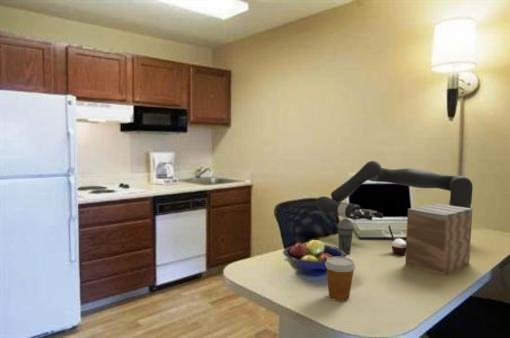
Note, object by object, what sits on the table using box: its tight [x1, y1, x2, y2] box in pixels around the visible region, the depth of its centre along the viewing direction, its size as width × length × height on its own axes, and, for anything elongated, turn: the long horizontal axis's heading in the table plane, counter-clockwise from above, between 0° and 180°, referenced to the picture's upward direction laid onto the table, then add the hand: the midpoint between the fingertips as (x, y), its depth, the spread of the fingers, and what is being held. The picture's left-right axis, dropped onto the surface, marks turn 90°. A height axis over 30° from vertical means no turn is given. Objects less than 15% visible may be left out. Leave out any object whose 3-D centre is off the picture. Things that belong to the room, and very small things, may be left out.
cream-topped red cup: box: [387, 225, 406, 256], centre depth 165 cm, size 10×6×12 cm, turn 39°
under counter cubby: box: [405, 202, 473, 276], centre depth 151 cm, size 23×15×23 cm, turn 128°
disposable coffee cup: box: [325, 256, 356, 302], centre depth 119 cm, size 10×10×12 cm
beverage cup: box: [336, 209, 355, 256], centre depth 164 cm, size 7×7×20 cm
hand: (377, 217), depth 173 cm, fingers open, 8 cm apart
